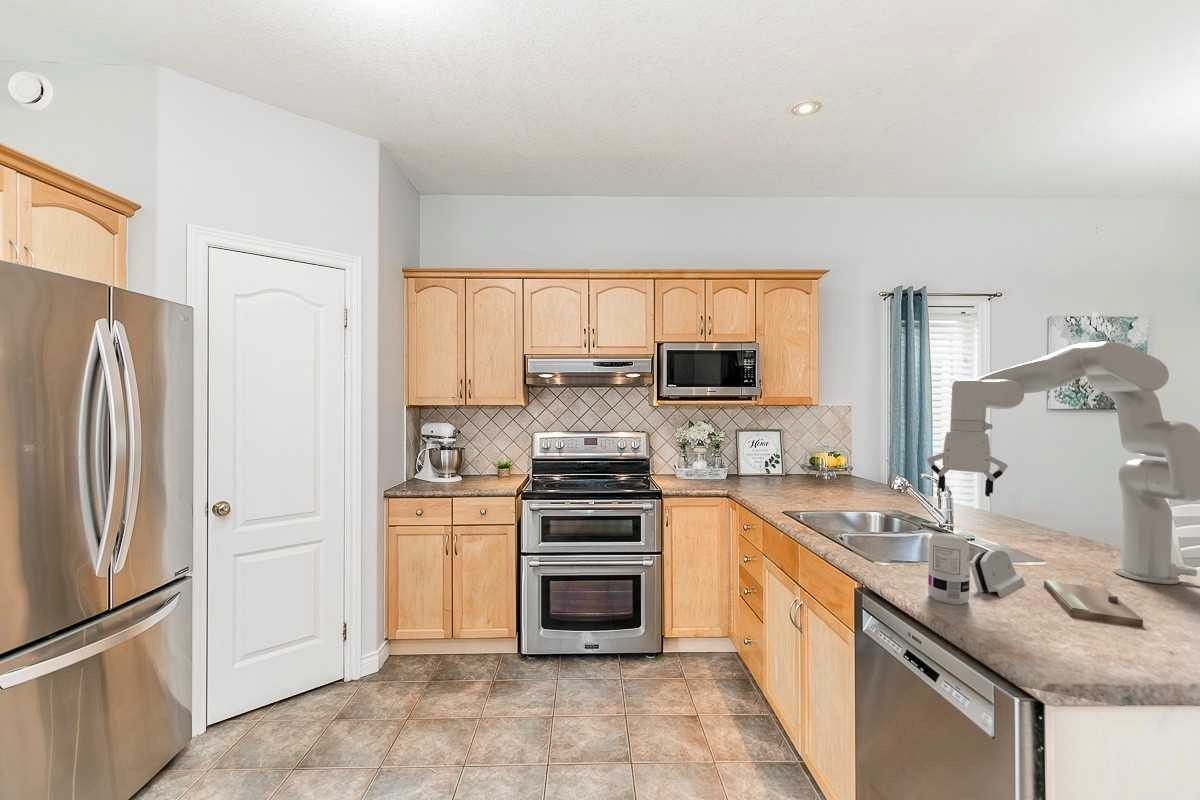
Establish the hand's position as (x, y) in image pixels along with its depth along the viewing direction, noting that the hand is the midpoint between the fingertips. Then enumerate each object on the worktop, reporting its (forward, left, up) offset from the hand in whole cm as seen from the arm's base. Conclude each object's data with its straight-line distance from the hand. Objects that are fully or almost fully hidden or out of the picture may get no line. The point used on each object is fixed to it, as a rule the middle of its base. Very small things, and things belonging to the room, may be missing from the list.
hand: (964, 493), depth 143 cm
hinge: (-7, 0, -24) cm, 25 cm away
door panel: (-24, +4, -23) cm, 34 cm away
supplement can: (+5, +15, -23) cm, 28 cm away
